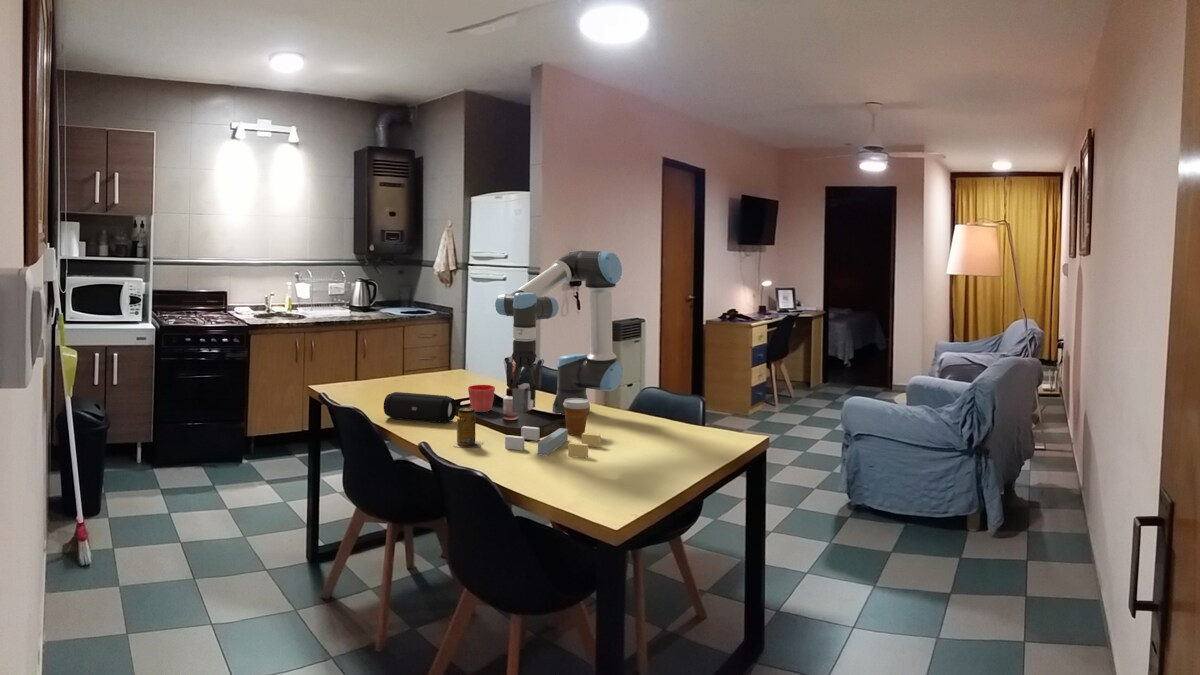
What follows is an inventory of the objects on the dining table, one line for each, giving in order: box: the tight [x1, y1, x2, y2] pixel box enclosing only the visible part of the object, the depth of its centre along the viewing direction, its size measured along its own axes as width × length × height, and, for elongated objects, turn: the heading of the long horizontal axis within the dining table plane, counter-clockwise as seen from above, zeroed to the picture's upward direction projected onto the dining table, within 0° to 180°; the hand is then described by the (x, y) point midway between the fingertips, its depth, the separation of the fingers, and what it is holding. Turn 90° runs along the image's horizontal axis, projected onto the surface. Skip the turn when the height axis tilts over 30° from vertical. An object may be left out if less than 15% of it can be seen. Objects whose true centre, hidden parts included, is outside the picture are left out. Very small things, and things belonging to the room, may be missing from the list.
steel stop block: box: [511, 382, 536, 414], centre depth 252 cm, size 10×4×8 cm, turn 163°
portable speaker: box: [383, 391, 457, 424], centre depth 281 cm, size 26×10×10 cm, turn 78°
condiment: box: [453, 407, 484, 448], centre depth 250 cm, size 7×8×12 cm
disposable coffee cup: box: [563, 398, 591, 437], centre depth 268 cm, size 10×10×12 cm
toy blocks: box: [504, 425, 601, 459], centre depth 250 cm, size 20×28×4 cm
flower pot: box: [467, 384, 496, 411], centre depth 299 cm, size 11×11×10 cm
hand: (523, 408), depth 252 cm, fingers closed on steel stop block, 4 cm apart
